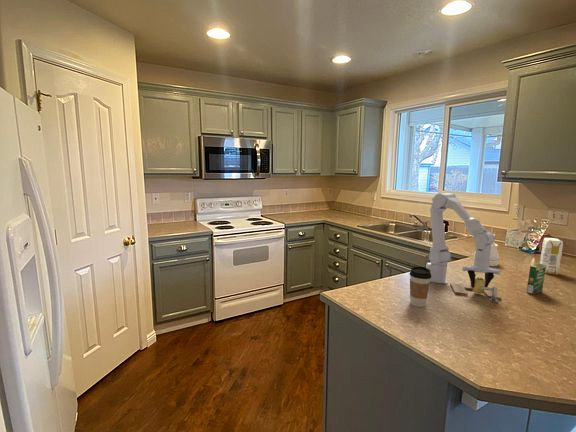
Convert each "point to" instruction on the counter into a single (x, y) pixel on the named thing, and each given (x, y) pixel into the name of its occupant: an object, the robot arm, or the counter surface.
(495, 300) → the hook arm
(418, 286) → the coffee cup
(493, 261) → the honey pot
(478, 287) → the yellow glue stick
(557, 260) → the juice carton
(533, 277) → the coffee box
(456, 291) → the brown u-shaped board
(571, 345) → the counter surface
